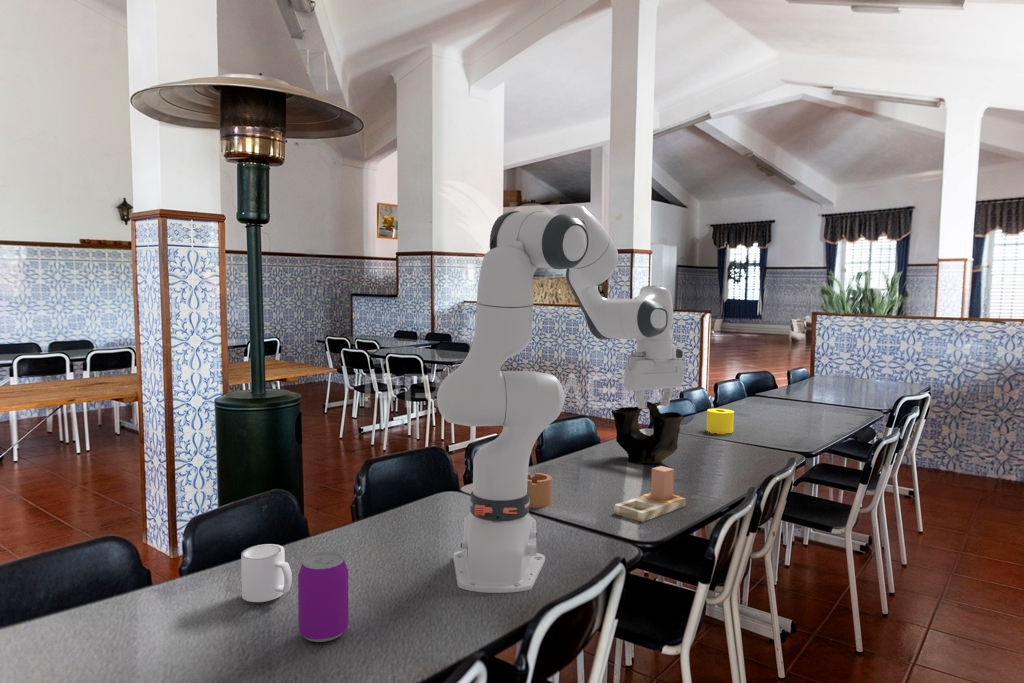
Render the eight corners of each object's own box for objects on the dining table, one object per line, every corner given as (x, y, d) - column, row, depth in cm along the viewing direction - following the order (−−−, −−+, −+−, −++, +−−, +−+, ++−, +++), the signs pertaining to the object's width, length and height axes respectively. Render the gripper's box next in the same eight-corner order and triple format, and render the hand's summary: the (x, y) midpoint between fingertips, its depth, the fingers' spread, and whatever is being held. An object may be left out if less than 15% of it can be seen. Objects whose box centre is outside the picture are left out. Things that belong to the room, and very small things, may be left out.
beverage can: (288, 638, 106) (287, 564, 105) (318, 616, 113) (318, 546, 112) (329, 648, 103) (328, 572, 102) (358, 625, 110) (357, 553, 109)
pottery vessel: (688, 467, 214) (691, 405, 212) (671, 473, 206) (673, 409, 204) (622, 453, 231) (624, 395, 229) (603, 459, 223) (605, 399, 221)
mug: (304, 590, 123) (303, 549, 122) (276, 607, 116) (276, 564, 115) (261, 581, 126) (261, 541, 126) (232, 597, 119) (231, 555, 119)
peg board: (642, 523, 161) (642, 512, 161) (614, 514, 167) (614, 503, 167) (685, 508, 173) (685, 497, 173) (657, 500, 179) (657, 490, 179)
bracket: (552, 508, 172) (553, 481, 171) (520, 508, 172) (520, 481, 171) (546, 487, 190) (547, 463, 189) (517, 487, 190) (517, 463, 189)
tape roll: (734, 433, 266) (735, 410, 266) (731, 438, 257) (732, 414, 257) (708, 431, 271) (709, 407, 270) (704, 435, 261) (705, 411, 261)
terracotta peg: (663, 510, 171) (664, 471, 170) (650, 506, 174) (651, 468, 173) (672, 507, 173) (674, 469, 173) (660, 503, 176) (661, 465, 176)
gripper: (638, 352, 160) (638, 411, 160) (688, 351, 173) (687, 405, 174) (617, 352, 164) (617, 408, 165) (667, 350, 178) (667, 403, 178)
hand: (653, 407), depth 169 cm, fingers open, 8 cm apart
